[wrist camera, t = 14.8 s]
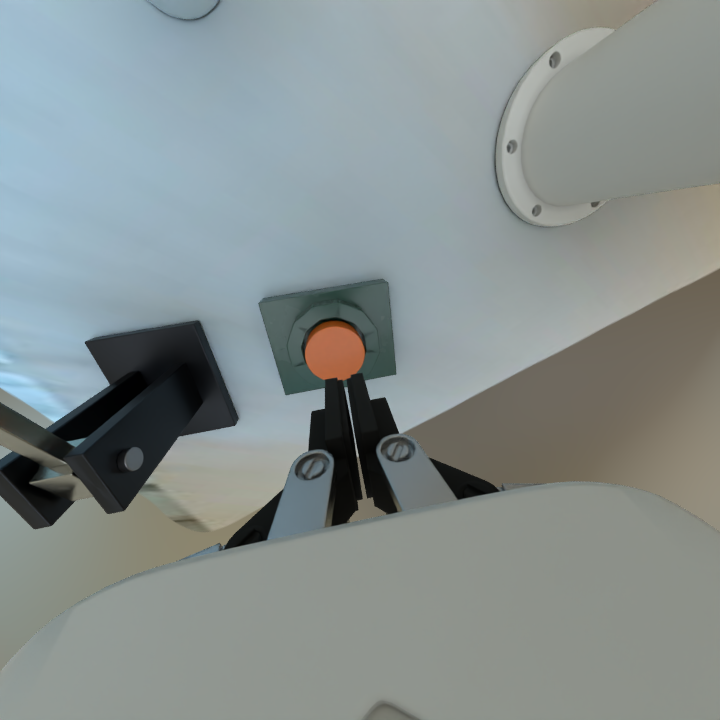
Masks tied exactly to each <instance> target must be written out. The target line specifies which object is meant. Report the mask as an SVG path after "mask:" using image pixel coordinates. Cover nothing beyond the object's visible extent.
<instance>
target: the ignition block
mask: <svg viewBox="0 0 720 720" xmlns="http://www.w3.org/2000/svg"><path fill="white" fill-rule="evenodd" d="M258 304H259V307H260V311H261V314H262V317H263V321H264V324H265V327H266V331H267V334H268V338H269V341H270V344H271V348H272V351H273V354H274V358H275V361H276V365H277V368H278V371H279V375H280V378H281V381H282V385H283V388H284V391H285V395H289V394H294V393H300V392H305V391H310V390H316V389H321V388H325V380H323V379H321V378H319V377H317V376H316V375H315V374H313V373H312V371H311V370H310V369H309V367H308V365H307V363H306V359H305V349H306V342H307V339H308V336H309V334H310V333H311V332H312V330H313V329H314V328H315V327H317V326H318V325H320V324H322V323H324V322H327V321H342V322H345V323H347V324H349V325H351V326H352V327H353V328H354V329H355V330H356V331H357V332H358V334H359V336H360V338H361V340H362V342H363V345H364V349H365V358H364V362H363V364H362V366H361V368H360V369H359V371H358V372H357V373H363V377H364V380H369V379H374V378H380V377H385V376H390V375H396V364H395V353H394V342H393V331H392V320H391V309H390V298H389V287H388V282H387V281H385V280H384V279H378V280H372V281H366V282H360V283H354V284H347V285H341V286H335V287H329V288H323V289H317V290H311V291H304V292H298V293H292V294H286V295H280V296H274V297H268V298H263V299H262V300H261V301H260V302H259V303H258ZM357 373H356V374H357ZM350 378H351V377H350ZM343 384H344V387H347V380H343Z"/></svg>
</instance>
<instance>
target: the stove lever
mask: <svg viewBox="0 0 720 720" xmlns="http://www.w3.org/2000/svg"><path fill="white" fill-rule="evenodd" d="M85 439H86V438H82V439H77V440H72V441H67V442H66V441H65V440H63V439H61V438H59V437H58V436H56V435H54V434H53V433H51V432H49V431H48V430H46V429H44V428H43V427H41V426H39V425H37V424H36V423H34V422H32V421H31V420H29V419H27V418H26V417H24V416H22V415H21V414H19V413H17V412H15V411H14V410H12V409H10V408H9V407H7V406H5V405H4V404H2V403H0V445H1V446H3V447H6V448H7V449H10V450H12V451H14V452H16V453H18V454H20V455H22V456H24V457H26V458H28V459H30V460H32V461H34V462H36V463H38V464H40V465H41V466H40V468H39V469H38V471H37V472H36V474H35V475H34V476H33V478H32V479H31V481H30V482H29V484H32V485H34V486H36V487H39V488H41V489H44V490H46V491H48V492H51V493H53V494H56V495H58V496H60V497H63V498H65V499H68V500H70V501H75V500H80V499H85V498H90V497H93V495H92V494H91V493H90V492H89V490H88V489H87V488H86V487H85V485H84V484H83V483H82V482H81V480H80V479H79V478H78V477H77V475H76V474H75V473H74V472H73V470H72V469H71V468H70V466H69V465H68V464H67V463H66V461H65V460H64V459H63V458H64V457H65V456H66V455H67V454H68V453H69V452H71V451H72V450H73V449H74V448H75V447H77V446H78V445H79V444H80V443H81V442H83V441H84V440H85Z"/></svg>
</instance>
